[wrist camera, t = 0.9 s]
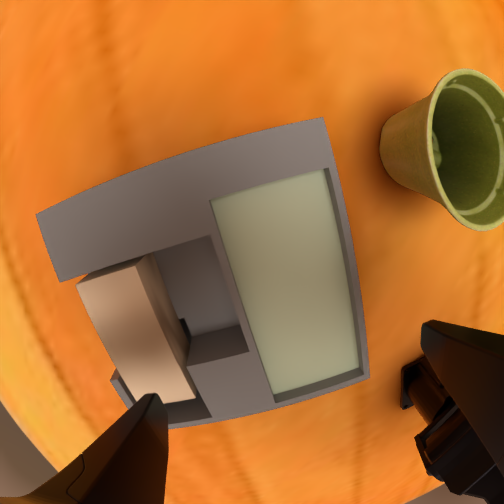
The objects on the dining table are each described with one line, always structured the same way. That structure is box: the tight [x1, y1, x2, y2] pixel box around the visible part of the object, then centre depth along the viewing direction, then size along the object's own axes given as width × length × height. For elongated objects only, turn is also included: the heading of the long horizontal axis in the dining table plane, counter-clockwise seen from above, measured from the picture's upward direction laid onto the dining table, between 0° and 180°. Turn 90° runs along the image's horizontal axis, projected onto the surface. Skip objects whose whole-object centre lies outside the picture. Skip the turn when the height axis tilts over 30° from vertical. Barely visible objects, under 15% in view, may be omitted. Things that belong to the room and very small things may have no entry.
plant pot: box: [379, 69, 504, 231], centre depth 16 cm, size 9×9×9 cm
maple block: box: [76, 252, 197, 404], centre depth 18 cm, size 9×4×4 cm, turn 16°
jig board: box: [36, 117, 370, 429], centre depth 19 cm, size 16×16×6 cm
